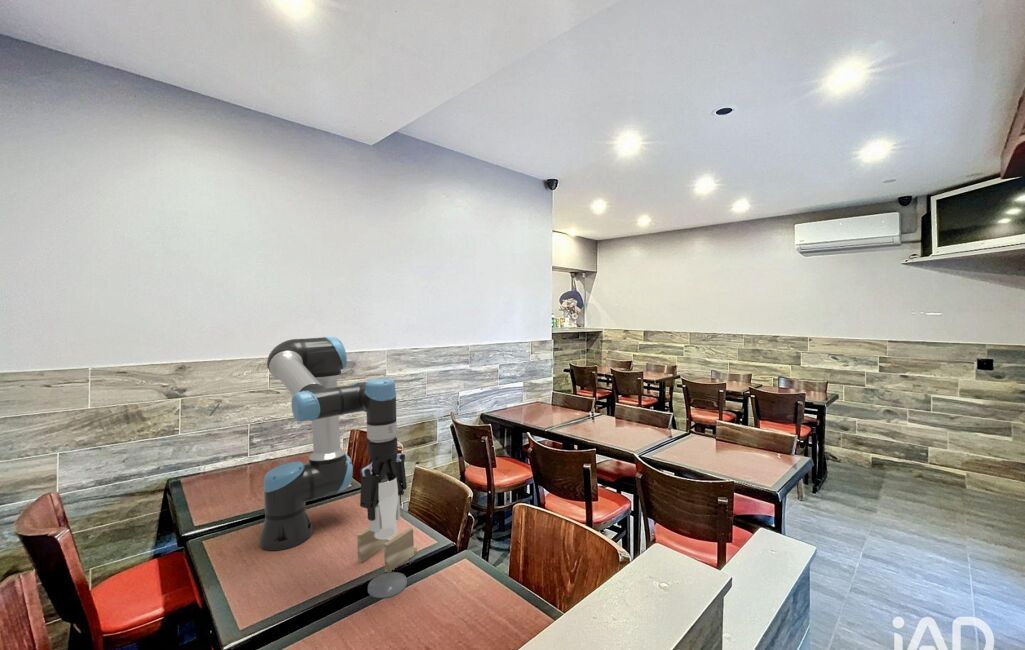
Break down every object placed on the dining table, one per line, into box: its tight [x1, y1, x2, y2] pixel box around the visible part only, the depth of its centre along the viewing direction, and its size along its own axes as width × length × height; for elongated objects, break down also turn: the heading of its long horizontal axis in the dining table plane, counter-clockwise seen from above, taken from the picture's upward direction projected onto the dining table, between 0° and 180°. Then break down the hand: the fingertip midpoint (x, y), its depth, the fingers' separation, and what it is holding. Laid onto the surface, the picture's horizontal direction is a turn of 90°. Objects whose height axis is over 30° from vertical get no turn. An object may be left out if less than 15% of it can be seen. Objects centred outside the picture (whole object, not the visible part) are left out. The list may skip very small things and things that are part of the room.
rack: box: [356, 526, 418, 573], centre depth 126 cm, size 12×11×8 cm
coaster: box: [367, 571, 408, 599], centre depth 113 cm, size 10×10×1 cm
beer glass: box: [374, 474, 399, 540], centre depth 112 cm, size 7×7×15 cm
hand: (385, 524), depth 112 cm, fingers closed on beer glass, 7 cm apart
